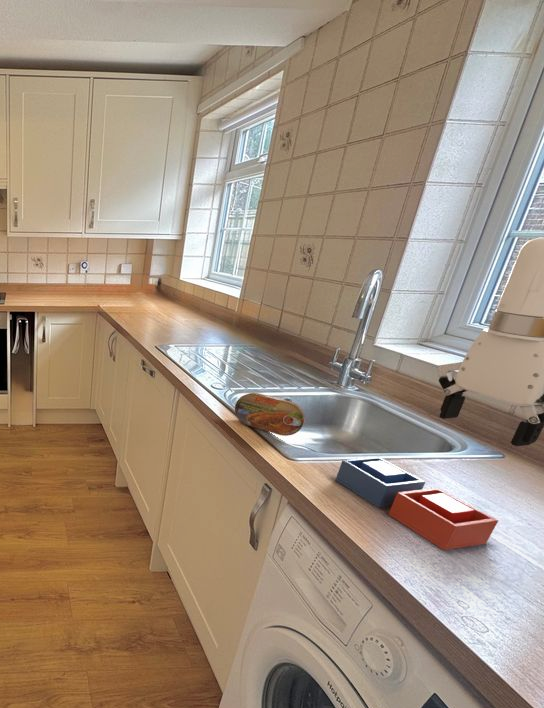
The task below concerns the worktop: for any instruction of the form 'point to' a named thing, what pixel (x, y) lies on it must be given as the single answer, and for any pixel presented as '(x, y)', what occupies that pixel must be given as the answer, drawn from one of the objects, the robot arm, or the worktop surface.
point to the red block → (447, 507)
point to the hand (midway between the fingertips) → (481, 430)
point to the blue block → (383, 471)
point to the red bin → (441, 521)
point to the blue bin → (374, 482)
